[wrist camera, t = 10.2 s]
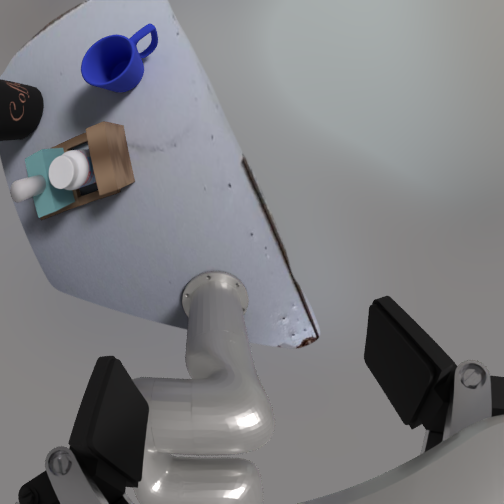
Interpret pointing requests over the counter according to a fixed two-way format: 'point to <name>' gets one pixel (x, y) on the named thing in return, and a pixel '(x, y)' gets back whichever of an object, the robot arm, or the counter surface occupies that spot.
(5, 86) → the coffee jar
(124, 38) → the mug
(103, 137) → the wooden tray
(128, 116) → the counter surface
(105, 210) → the counter surface
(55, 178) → the pill bottle
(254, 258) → the counter surface
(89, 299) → the counter surface
